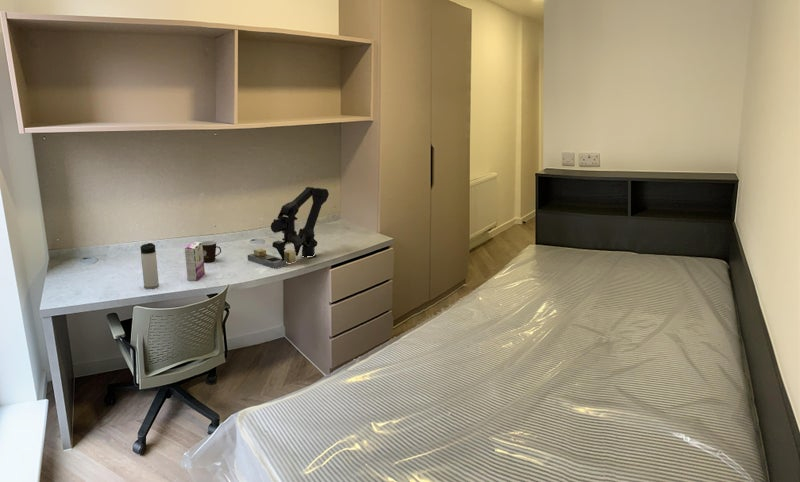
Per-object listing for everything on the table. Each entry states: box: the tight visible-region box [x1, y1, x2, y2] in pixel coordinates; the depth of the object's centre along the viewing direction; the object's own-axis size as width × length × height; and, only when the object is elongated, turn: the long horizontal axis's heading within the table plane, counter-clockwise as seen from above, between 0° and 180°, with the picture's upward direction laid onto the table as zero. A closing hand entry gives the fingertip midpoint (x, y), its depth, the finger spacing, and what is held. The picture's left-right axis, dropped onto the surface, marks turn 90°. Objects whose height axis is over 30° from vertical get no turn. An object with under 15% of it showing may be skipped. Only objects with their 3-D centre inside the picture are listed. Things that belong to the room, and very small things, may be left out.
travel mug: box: [139, 242, 160, 290], centre depth 266 cm, size 6×7×20 cm
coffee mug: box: [201, 240, 222, 264], centre depth 306 cm, size 12×9×10 cm
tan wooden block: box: [284, 249, 297, 264], centre depth 309 cm, size 4×4×6 cm
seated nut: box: [253, 248, 267, 257], centre depth 310 cm, size 4×4×6 cm
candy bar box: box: [184, 241, 206, 282], centre depth 281 cm, size 11×5×16 cm, turn 179°
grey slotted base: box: [247, 252, 287, 270], centre depth 307 cm, size 8×22×3 cm, turn 51°
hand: (290, 257), depth 309 cm, fingers open, 9 cm apart
